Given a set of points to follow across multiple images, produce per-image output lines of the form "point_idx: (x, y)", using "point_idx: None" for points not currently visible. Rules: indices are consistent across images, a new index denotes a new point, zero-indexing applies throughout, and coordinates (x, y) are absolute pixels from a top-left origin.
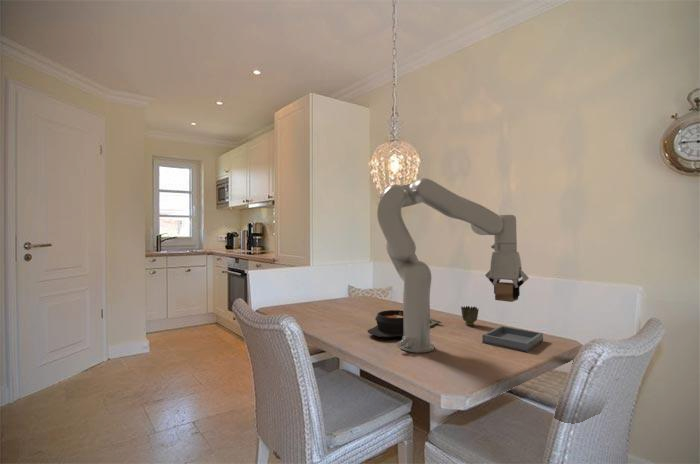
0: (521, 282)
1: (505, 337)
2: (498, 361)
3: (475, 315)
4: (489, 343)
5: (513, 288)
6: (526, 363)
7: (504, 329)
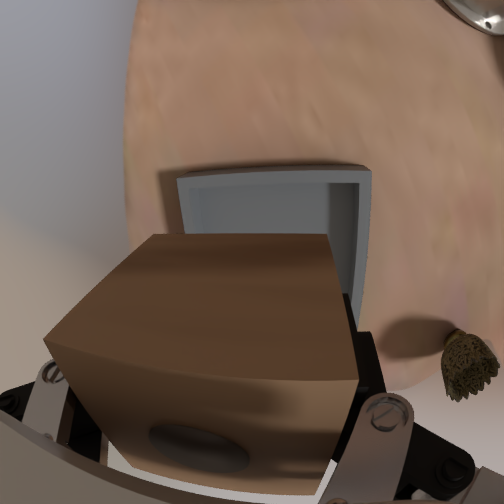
0: (3, 394)
1: None
2: (214, 12)
3: (449, 361)
4: (334, 165)
5: None
6: (145, 67)
7: None
